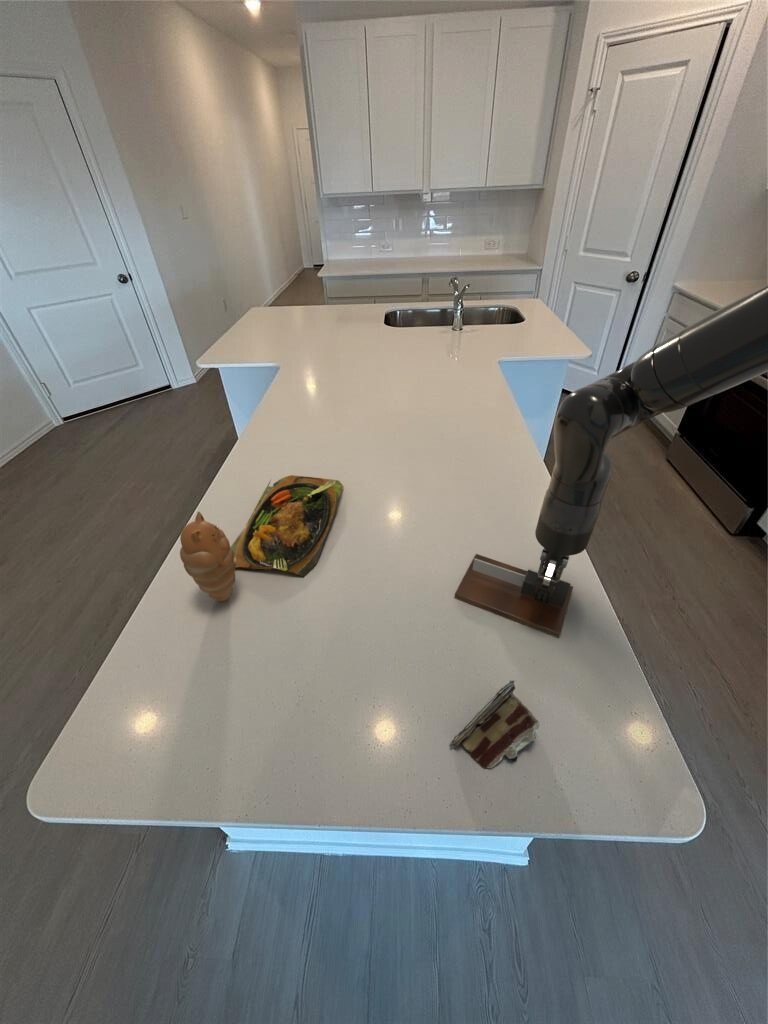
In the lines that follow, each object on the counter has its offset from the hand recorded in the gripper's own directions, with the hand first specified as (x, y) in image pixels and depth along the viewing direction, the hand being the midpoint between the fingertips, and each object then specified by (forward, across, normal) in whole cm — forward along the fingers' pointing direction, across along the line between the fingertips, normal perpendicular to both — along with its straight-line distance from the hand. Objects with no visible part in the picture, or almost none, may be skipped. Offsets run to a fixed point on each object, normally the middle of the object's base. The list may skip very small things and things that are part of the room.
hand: (543, 592), depth 74 cm
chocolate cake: (+3, -25, 0) cm, 25 cm away
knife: (0, 0, +5) cm, 5 cm away
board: (+3, 0, +5) cm, 6 cm away
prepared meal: (+3, -3, +52) cm, 52 cm away
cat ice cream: (+3, -24, +51) cm, 56 cm away
